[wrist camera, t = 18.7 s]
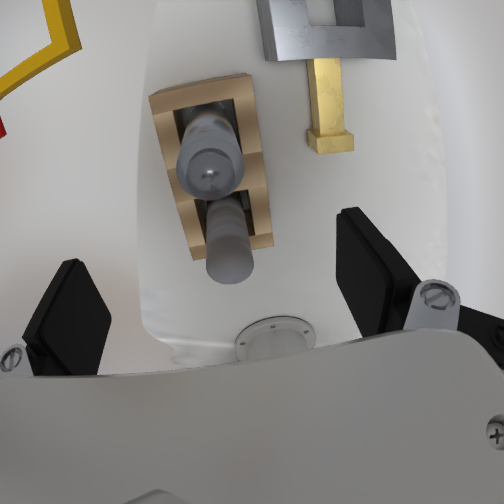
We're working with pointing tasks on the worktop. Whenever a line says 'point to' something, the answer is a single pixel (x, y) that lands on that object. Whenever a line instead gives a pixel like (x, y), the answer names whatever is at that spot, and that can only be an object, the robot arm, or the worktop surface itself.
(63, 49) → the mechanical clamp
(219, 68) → the worktop surface
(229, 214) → the rack
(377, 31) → the socket block
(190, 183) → the brushed metal cylinder
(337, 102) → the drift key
